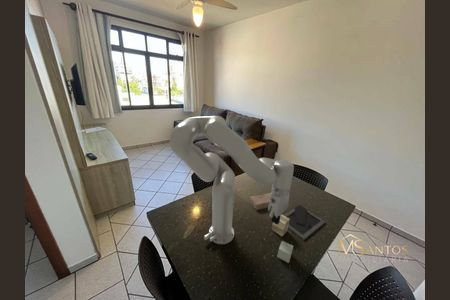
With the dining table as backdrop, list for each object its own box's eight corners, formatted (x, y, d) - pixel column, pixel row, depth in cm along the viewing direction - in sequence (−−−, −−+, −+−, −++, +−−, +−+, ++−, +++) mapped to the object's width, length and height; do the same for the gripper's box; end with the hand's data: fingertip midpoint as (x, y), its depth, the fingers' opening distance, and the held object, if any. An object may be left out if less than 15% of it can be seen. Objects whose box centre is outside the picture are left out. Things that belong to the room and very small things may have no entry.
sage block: (288, 263, 74) (290, 254, 72) (277, 257, 77) (278, 248, 75) (291, 254, 78) (293, 246, 77) (280, 248, 81) (281, 240, 79)
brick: (270, 197, 117) (271, 191, 115) (278, 205, 110) (279, 199, 108) (248, 202, 111) (249, 196, 109) (255, 211, 104) (256, 204, 102)
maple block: (281, 236, 87) (284, 224, 84) (271, 229, 91) (273, 217, 88) (286, 231, 90) (289, 219, 87) (276, 224, 94) (278, 212, 91)
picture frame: (299, 207, 109) (277, 220, 98) (299, 204, 108) (277, 218, 97) (324, 223, 97) (303, 241, 86) (325, 220, 96) (304, 238, 85)
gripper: (279, 200, 67) (273, 235, 74) (297, 185, 77) (290, 218, 84) (263, 191, 72) (259, 225, 79) (281, 179, 82) (276, 210, 89)
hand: (275, 222), depth 81 cm, fingers closed
